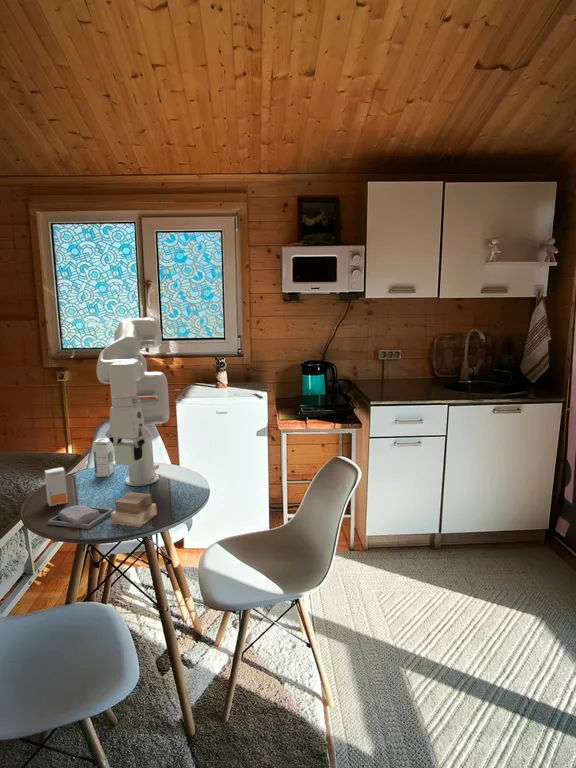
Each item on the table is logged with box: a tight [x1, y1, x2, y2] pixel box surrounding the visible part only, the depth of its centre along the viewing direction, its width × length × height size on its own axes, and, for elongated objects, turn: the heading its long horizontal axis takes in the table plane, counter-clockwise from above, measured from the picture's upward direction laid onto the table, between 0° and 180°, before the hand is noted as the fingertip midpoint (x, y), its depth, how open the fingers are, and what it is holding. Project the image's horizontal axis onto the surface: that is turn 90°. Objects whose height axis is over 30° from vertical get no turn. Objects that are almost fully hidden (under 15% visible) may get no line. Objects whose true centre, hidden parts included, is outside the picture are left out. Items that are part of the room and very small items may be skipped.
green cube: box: [113, 439, 143, 466], centre depth 159 cm, size 6×6×6 cm
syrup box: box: [92, 437, 115, 478], centre depth 204 cm, size 6×6×14 cm
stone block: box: [58, 504, 100, 528], centre depth 164 cm, size 12×5×10 cm
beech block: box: [110, 502, 158, 528], centre depth 162 cm, size 10×10×4 cm
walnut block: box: [114, 491, 153, 515], centre depth 162 cm, size 8×8×4 cm
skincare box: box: [44, 466, 69, 507], centre depth 176 cm, size 6×4×12 cm
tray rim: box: [47, 504, 115, 530], centre depth 164 cm, size 12×15×1 cm
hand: (129, 458), depth 160 cm, fingers closed on green cube, 6 cm apart
